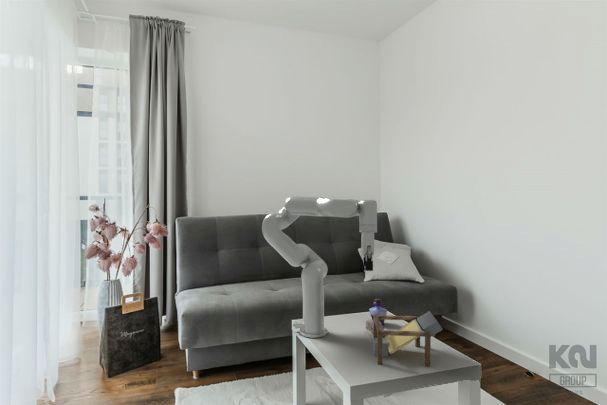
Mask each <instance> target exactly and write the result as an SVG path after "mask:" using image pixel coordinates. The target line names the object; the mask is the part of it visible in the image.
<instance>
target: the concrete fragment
mask: <svg viewBox="0 0 607 405" xmlns="http://www.w3.org/2000/svg"><path fill="white" fill-rule="evenodd" d="M379 322H380V321H379ZM380 326H381V329H382V330H385V326H384V325H382V323H381V322H380ZM365 329H366V330H367V331H368V332H370V333H372V334H373V320H372V318H367V319H366V321H365ZM385 337H387V335H382V338H385Z"/></svg>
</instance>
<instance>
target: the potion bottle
mask: <svg viewBox="0 0 607 405" xmlns="http://www.w3.org/2000/svg"><path fill="white" fill-rule="evenodd" d="M382 306H384V304H383V301H382V299H381V298H375V299H374V300H373V307H371V308H369V315H370V317H371V319H372V320H373V315H387V313H388V311H387V308H383V307H382ZM379 321H380V322H381V323H382V325H383V326H384V324H385V320H384V319H379Z"/></svg>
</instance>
